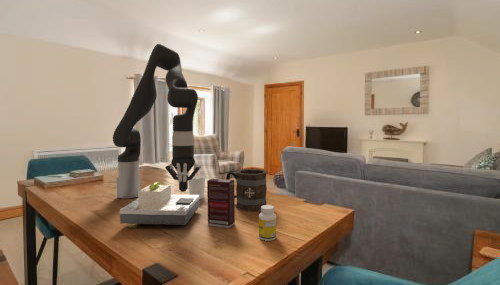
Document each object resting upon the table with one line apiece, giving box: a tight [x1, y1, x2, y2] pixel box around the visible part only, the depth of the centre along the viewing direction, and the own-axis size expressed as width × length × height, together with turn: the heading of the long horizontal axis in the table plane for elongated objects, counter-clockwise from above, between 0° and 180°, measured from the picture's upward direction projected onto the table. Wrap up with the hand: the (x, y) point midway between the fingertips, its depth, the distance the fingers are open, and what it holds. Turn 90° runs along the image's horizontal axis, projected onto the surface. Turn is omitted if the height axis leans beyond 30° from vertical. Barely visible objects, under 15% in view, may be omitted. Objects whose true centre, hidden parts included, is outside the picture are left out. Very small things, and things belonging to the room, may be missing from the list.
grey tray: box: [119, 199, 201, 229], centre depth 100 cm, size 22×20×5 cm
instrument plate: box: [119, 181, 200, 215], centre depth 100 cm, size 22×20×8 cm
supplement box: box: [206, 177, 236, 229], centre depth 95 cm, size 9×5×16 cm, turn 71°
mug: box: [225, 168, 268, 212], centre depth 117 cm, size 20×14×15 cm
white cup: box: [188, 174, 206, 200], centre depth 130 cm, size 8×8×10 cm
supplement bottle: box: [258, 204, 277, 242], centre depth 84 cm, size 5×5×10 cm
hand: (183, 191), depth 99 cm, fingers closed
